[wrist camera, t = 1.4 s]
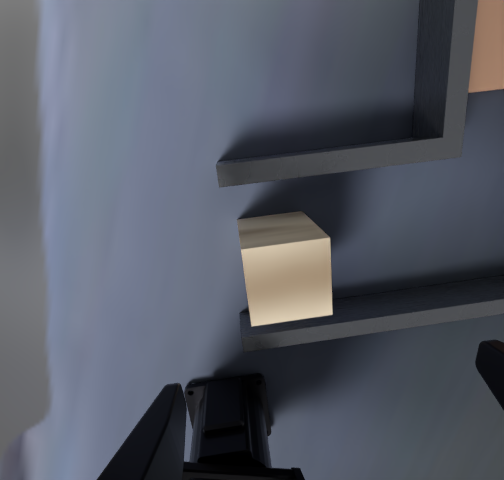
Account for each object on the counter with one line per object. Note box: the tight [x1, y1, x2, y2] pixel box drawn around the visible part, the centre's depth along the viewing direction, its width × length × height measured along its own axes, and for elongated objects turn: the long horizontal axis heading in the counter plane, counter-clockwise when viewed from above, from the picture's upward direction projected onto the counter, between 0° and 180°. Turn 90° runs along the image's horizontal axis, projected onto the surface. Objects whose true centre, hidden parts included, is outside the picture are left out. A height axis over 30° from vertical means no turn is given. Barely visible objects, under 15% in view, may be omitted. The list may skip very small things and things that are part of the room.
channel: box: [216, 0, 504, 352], centre depth 19 cm, size 22×25×3 cm
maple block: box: [237, 211, 333, 326], centre depth 19 cm, size 4×4×6 cm
